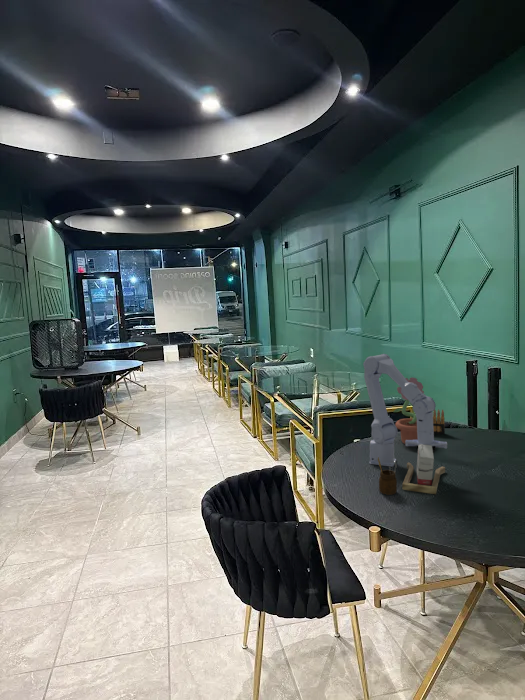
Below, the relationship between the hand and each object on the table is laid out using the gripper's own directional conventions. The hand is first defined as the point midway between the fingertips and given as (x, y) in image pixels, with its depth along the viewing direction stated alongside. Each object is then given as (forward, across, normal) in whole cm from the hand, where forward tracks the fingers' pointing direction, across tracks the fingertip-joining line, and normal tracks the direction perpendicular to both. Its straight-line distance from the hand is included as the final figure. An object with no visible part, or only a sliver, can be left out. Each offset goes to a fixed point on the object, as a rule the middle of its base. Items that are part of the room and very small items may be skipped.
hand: (427, 465), depth 169 cm
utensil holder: (+4, +12, +19) cm, 22 cm away
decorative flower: (+3, +10, -36) cm, 38 cm away
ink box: (+3, +1, +4) cm, 6 cm away
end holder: (+4, +1, +5) cm, 6 cm away
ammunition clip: (+4, +2, -54) cm, 54 cm away
